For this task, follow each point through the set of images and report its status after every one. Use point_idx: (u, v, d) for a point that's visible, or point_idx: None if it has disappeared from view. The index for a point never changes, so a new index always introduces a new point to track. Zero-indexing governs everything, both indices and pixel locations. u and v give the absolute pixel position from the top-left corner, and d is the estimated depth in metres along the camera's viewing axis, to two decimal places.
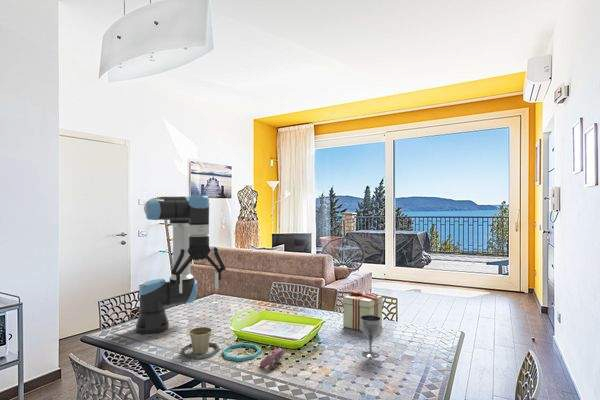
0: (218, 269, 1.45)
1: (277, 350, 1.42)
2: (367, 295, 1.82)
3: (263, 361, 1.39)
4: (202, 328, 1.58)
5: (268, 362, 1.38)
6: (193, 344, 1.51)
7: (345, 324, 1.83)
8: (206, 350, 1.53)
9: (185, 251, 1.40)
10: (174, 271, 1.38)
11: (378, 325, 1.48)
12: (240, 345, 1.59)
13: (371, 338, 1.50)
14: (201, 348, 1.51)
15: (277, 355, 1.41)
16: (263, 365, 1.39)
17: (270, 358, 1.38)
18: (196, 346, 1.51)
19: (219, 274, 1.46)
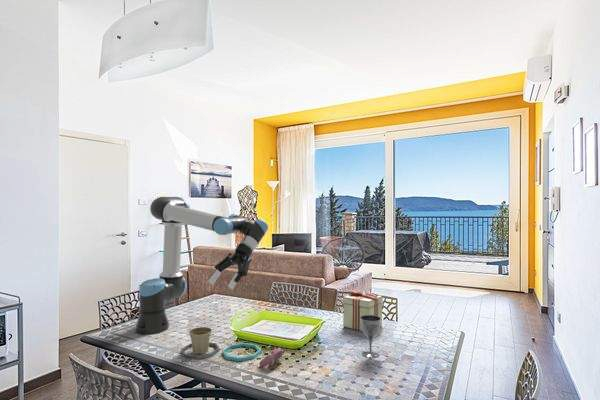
0: None
1: (276, 350, 1.42)
2: (367, 295, 1.82)
3: (263, 360, 1.39)
4: (202, 328, 1.58)
5: (267, 362, 1.38)
6: (193, 344, 1.51)
7: (345, 324, 1.83)
8: (206, 350, 1.53)
9: None
10: None
11: (378, 325, 1.48)
12: (240, 345, 1.59)
13: (371, 338, 1.50)
14: (201, 348, 1.51)
15: (276, 355, 1.41)
16: (262, 365, 1.39)
17: (269, 358, 1.38)
18: (196, 346, 1.51)
19: None
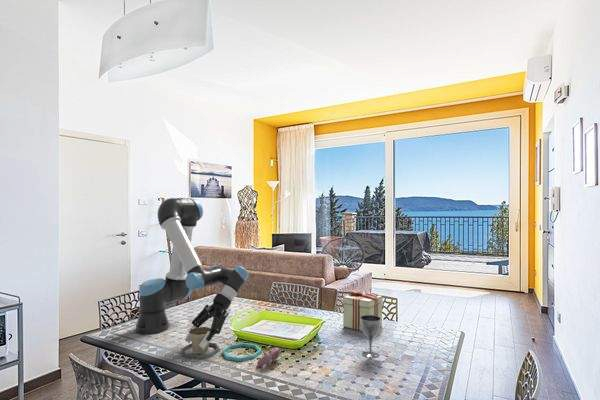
0: None
1: (274, 349, 1.42)
2: (367, 295, 1.82)
3: (260, 360, 1.39)
4: (202, 328, 1.58)
5: (265, 361, 1.38)
6: (193, 344, 1.51)
7: (345, 324, 1.83)
8: (206, 350, 1.53)
9: None
10: None
11: (378, 325, 1.48)
12: (240, 345, 1.59)
13: (371, 338, 1.50)
14: (201, 348, 1.51)
15: (274, 354, 1.42)
16: (260, 364, 1.39)
17: (267, 357, 1.38)
18: (196, 346, 1.51)
19: None
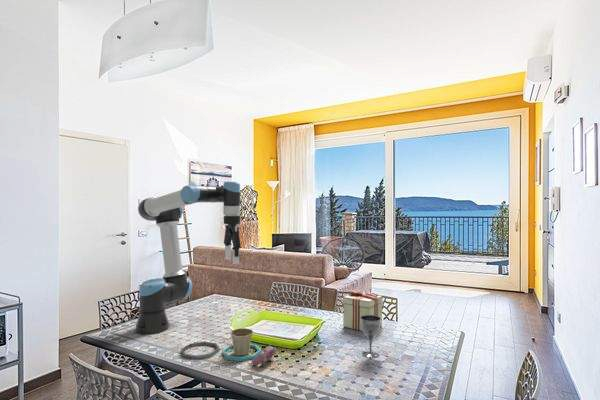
0: None
1: (269, 348, 1.43)
2: (367, 295, 1.82)
3: (255, 359, 1.40)
4: (242, 330, 1.57)
5: (260, 360, 1.39)
6: (235, 345, 1.50)
7: (345, 324, 1.83)
8: (248, 352, 1.51)
9: None
10: None
11: (378, 325, 1.48)
12: None
13: (371, 338, 1.50)
14: (243, 350, 1.50)
15: (269, 353, 1.43)
16: (255, 363, 1.40)
17: (262, 356, 1.39)
18: (238, 347, 1.49)
19: None
